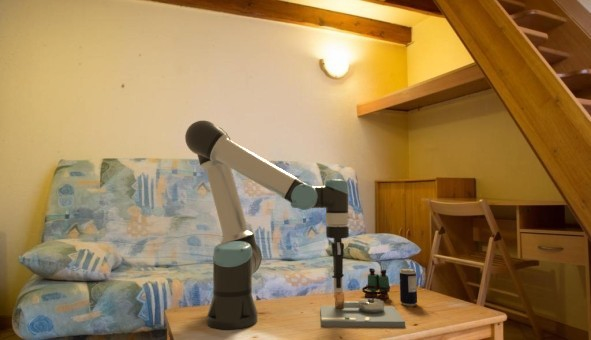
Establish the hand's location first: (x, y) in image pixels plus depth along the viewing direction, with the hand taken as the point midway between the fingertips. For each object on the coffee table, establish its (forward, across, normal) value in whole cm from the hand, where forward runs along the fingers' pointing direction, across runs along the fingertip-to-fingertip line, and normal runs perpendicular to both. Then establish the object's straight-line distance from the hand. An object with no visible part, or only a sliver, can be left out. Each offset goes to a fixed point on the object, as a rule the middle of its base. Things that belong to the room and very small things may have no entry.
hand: (338, 297), depth 127 cm
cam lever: (+3, -5, -6) cm, 8 cm away
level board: (+4, -8, -6) cm, 11 cm away
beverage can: (+5, +8, -25) cm, 27 cm away
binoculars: (+5, +15, -15) cm, 22 cm away
